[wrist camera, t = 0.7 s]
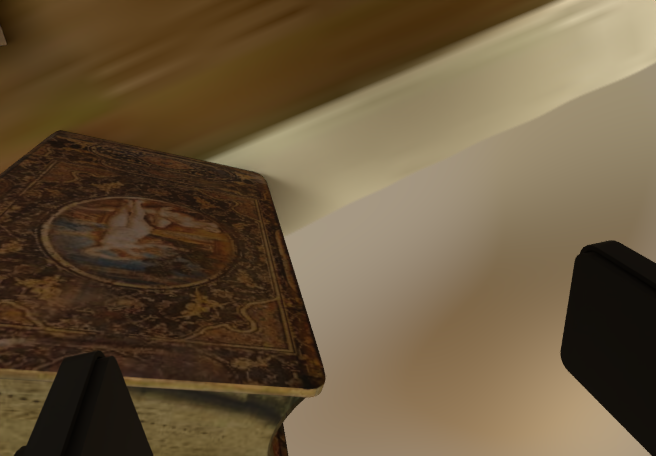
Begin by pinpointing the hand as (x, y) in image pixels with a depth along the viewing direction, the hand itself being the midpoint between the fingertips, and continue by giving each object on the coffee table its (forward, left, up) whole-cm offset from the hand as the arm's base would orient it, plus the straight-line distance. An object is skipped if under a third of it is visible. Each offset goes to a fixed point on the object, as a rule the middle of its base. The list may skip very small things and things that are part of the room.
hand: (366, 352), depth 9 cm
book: (+6, -9, -30) cm, 32 cm away
